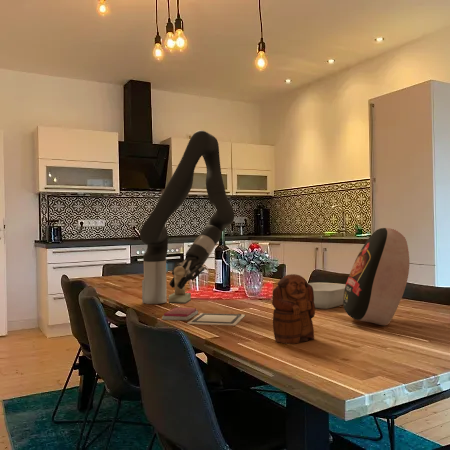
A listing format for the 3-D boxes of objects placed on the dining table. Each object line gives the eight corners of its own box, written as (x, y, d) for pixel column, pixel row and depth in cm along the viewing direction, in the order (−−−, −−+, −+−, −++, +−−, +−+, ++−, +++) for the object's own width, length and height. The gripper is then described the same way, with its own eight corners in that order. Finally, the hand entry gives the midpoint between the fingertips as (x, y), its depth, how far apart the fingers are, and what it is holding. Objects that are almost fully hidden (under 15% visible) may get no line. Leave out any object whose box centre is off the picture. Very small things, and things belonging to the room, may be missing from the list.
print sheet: (187, 323, 149) (187, 321, 149) (201, 314, 164) (201, 312, 164) (235, 325, 145) (235, 323, 145) (245, 315, 161) (245, 313, 161)
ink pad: (162, 319, 156) (162, 313, 156) (174, 312, 168) (174, 307, 168) (187, 320, 154) (187, 314, 154) (198, 313, 166) (197, 307, 166)
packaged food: (337, 315, 158) (335, 228, 158) (394, 315, 157) (393, 227, 157) (352, 330, 136) (351, 228, 136) (420, 329, 135) (418, 227, 135)
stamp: (168, 303, 159) (168, 266, 159) (174, 300, 165) (174, 264, 165) (185, 303, 158) (184, 267, 157) (190, 300, 163) (190, 265, 163)
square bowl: (283, 306, 179) (283, 286, 179) (312, 299, 194) (311, 280, 194) (330, 312, 165) (330, 291, 165) (357, 304, 180) (357, 284, 180)
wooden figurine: (285, 346, 120) (284, 277, 120) (270, 340, 126) (269, 274, 126) (319, 339, 126) (318, 274, 126) (304, 335, 132) (303, 272, 131)
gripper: (182, 242, 171) (156, 278, 162) (209, 243, 162) (183, 281, 153) (192, 255, 175) (167, 291, 166) (219, 258, 165) (194, 296, 157)
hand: (175, 286), depth 160 cm, fingers closed on stamp, 3 cm apart
